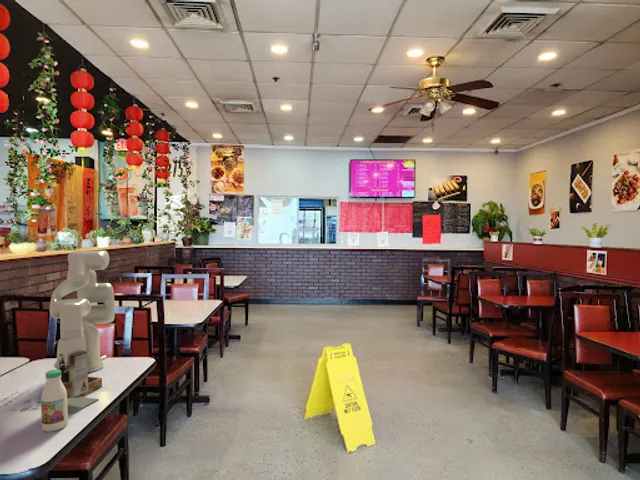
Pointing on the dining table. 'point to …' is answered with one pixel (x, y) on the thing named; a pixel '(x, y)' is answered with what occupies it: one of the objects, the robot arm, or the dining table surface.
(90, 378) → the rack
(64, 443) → the dining table surface
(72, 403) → the mat
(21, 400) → the dining table surface
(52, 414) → the milk bottle
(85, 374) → the coffee box
